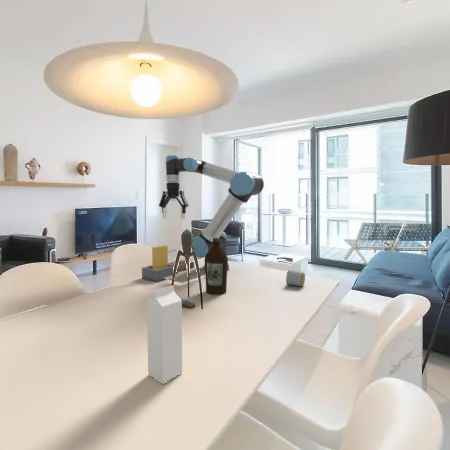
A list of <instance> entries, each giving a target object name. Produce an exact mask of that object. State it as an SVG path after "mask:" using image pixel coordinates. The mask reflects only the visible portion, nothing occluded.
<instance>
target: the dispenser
mask: <svg viewBox="0 0 450 450" xmlns="http://www.w3.org/2000/svg"><path fill="white" fill-rule="evenodd" d="M179 260H180V261H179ZM179 260H178V261H179V266H178V273H182V272H184V271H187V269H186V263H185V261H186V260H185V259H179ZM174 263H175V261H173V262H172V261H171V262H168V264H173V265H174ZM191 269H195V262H194V261H191V263H190V269H189V270H191Z"/></svg>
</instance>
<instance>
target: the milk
mask: <svg viewBox="0 0 450 450" xmlns="http://www.w3.org/2000/svg"><path fill="white" fill-rule="evenodd" d="M182 302H183V300H182V299H181V298H180V296H178V295H177V293H176V292H175V286H174V285H168V286H166V287H161V288H160V289H155V290H154V291H153V297H152V298H150V299H148V300H147V301H146V327H147V329H146V331H147V333H146V334H147V373H148V374H149V375H151V376H152V377H154V378H156V379H157V380H159V381H160V382H162V383H165V382H166V381H169V380H170V379H172V378H173V377H175V376H177V375H179V374H181V373H182V374H183V331H182V330H183V329H182V328H183V320H182V319H183V317H182V316H183V314H182V313H183V311H182V310H183V307H182V305H183V304H182ZM182 374H181V375H182ZM149 375H148V376H149ZM179 376H180V375H179ZM152 377H151V378H152ZM177 377H178V376H177ZM157 380H156V381H157ZM172 380H173V379H172ZM160 382H159V383H160ZM169 382H170V381H169Z"/></svg>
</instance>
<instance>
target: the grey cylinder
mask: <svg viewBox="0 0 450 450" xmlns="http://www.w3.org/2000/svg"><path fill="white" fill-rule="evenodd" d="M305 280H306V273H305V272H303V271H300V270H299V271H298V270H295V269H291V268H289V269H288V270H287V272H286V279H285V282H286V285H288V286H293V287H294V286H295V287H303V286H304V285H305Z"/></svg>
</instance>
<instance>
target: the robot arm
mask: <svg viewBox="0 0 450 450" xmlns="http://www.w3.org/2000/svg"><path fill="white" fill-rule="evenodd" d="M165 169H166V173H165V174H166V176H165V177H166V185H165V186H166V190H167V191H166V190H162V195H161V199H160V202H159V204H158V207H161V213H162V219H163V220H165V219H167V216H168V209H167V205H168V204H169V202H170V201H171V200H173V199H175V200H176V201H177V202H178V203H179V205H180V220H185V219H186V213H187V209H186V208H188V207H190V205H189V203H188V200H187V199H186V196H185V191H184V190H180V173H182V172H184V173H185V172H188V173H197V174H201V175H203V176H207V177H209V178H212V179H216V180H219V181H222V182H224V183H227V184H229V185H230V186H229V188H228V189H227V191H228V192H227V193H228V195H227V196H226V198H225V199H224V201H223V202H222V204H221V206H220V207H219V208H218V210H217V211H216V213H215V215H214V216H213V217H212V219H211V220H210V222H209V224H208V225H207V226H206V227H205V228H202V229H201V231H200V232H199V233H198V235H197V236H194V237H193V238H192V239H193V248H194V251H195V253H196V256H195V257H197V258H205V256H206V253H207V252H208V251H209V250H210V249H211V248H212V246H213V238H220V247H221V248H222V249H223V251H224V252H225V253H226V254H227V240H228V239H227V238H228V237H227V233H226V232H224V231H225V230H226V228H227V227H228V225H229V224H230V222H231V221H232V220H233V218H234V216H235V215H236V213H237V212H238V211H239V209H240V208H241V206H242V205H243V204H247V203H248V201H249V200H250V199H251V197H252V196H257V195H259V194H260V193H261V192H262V191H263V190H264V187H265V182H264V179H263V178H262V176H261V175H260V174H257V173H253V172H250V171H236V170H233V169H230V168H226V167H224V166H220V165H216V164H213V163H209V162H207V161H205V160H199V159H197V158H195V157H184V158H180V156H178V155H174V154H173V155H172V154H171V155H167V156H166V158H165ZM203 268H204V269H205V264H204V265H203ZM229 270H230V265H229V264H228V266H227V272H228V271H229Z"/></svg>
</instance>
